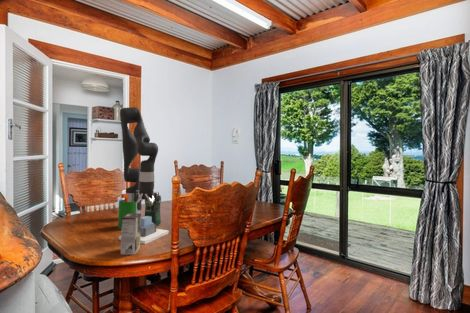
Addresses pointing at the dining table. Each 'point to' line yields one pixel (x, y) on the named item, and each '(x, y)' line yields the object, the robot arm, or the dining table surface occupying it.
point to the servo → (146, 222)
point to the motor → (125, 208)
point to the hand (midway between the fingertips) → (146, 210)
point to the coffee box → (130, 233)
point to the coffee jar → (155, 214)
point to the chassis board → (150, 234)
